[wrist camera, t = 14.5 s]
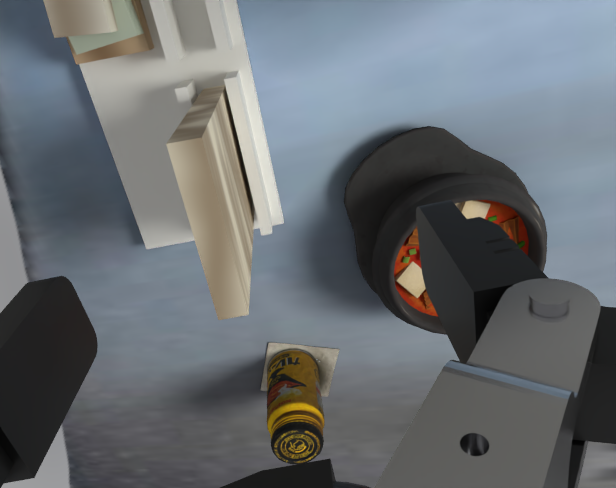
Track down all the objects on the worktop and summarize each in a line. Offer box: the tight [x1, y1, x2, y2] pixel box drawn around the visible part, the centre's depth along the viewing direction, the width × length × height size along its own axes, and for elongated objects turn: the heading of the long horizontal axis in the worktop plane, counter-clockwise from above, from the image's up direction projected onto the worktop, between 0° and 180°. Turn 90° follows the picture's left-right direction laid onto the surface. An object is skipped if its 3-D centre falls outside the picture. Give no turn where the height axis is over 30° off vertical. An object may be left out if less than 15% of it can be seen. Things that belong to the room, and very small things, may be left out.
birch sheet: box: [166, 85, 255, 320], centre depth 38 cm, size 2×12×18 cm, turn 9°
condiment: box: [260, 343, 339, 464], centre depth 55 cm, size 7×8×12 cm
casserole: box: [344, 126, 547, 335], centre depth 50 cm, size 25×19×8 cm
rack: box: [79, 0, 284, 249], centre depth 42 cm, size 14×32×6 cm, turn 10°
